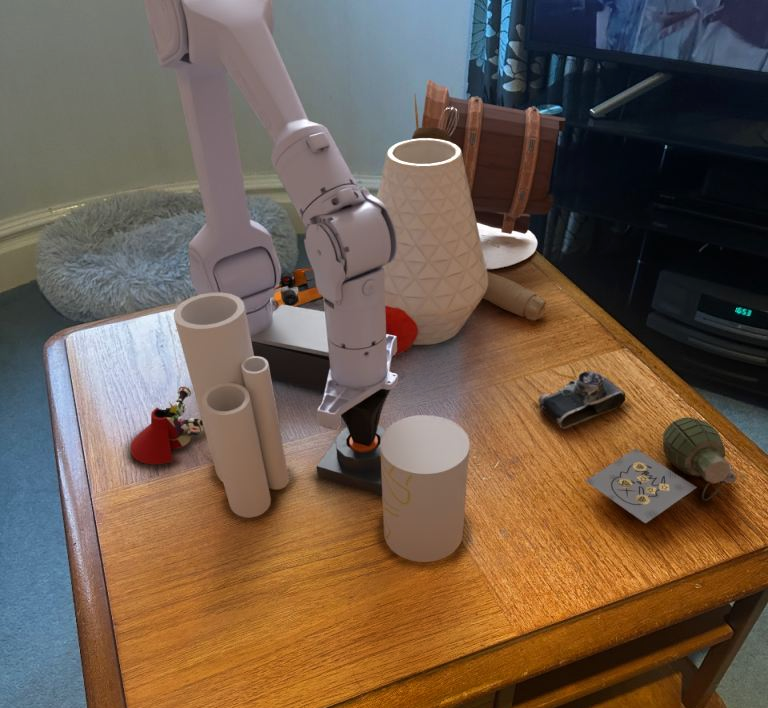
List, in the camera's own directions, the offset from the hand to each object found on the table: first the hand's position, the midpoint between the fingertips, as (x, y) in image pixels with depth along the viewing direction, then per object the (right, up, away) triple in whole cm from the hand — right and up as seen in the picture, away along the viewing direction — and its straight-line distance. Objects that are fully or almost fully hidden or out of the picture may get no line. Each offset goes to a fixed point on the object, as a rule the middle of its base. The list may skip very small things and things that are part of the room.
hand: (363, 440), depth 79 cm
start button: (0, -1, +1) cm, 2 cm away
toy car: (-8, +27, +26) cm, 38 cm away
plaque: (+17, +38, +37) cm, 56 cm away
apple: (+3, +15, +19) cm, 24 cm away
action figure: (-23, +1, +7) cm, 24 cm away
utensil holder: (+7, +35, +16) cm, 39 cm away
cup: (+6, -10, -5) cm, 13 cm away
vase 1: (-12, -4, +2) cm, 13 cm away
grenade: (+36, +1, +3) cm, 36 cm away
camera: (+26, +5, +8) cm, 28 cm away
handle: (+24, +20, +21) cm, 38 cm away
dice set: (+29, -5, -4) cm, 30 cm away
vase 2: (+8, +19, +22) cm, 30 cm away
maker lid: (-7, +15, +12) cm, 20 cm away
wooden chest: (+7, +44, +29) cm, 53 cm away
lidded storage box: (-7, +11, +16) cm, 20 cm away
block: (0, -2, +3) cm, 3 cm away
